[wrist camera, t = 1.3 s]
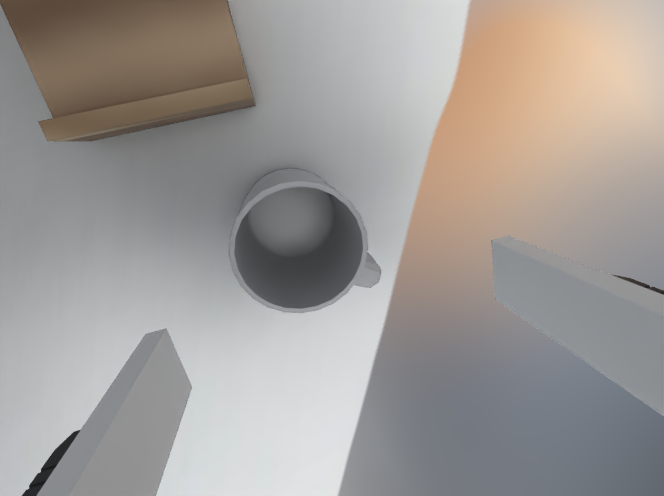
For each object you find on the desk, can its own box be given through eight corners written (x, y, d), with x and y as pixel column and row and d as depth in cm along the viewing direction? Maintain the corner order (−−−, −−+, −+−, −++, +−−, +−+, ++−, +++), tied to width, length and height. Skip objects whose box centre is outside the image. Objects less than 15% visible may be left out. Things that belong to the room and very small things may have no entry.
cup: (271, 148, 24) (271, 152, 16) (382, 214, 27) (432, 247, 19) (226, 233, 25) (203, 279, 17) (336, 287, 28) (364, 349, 20)
